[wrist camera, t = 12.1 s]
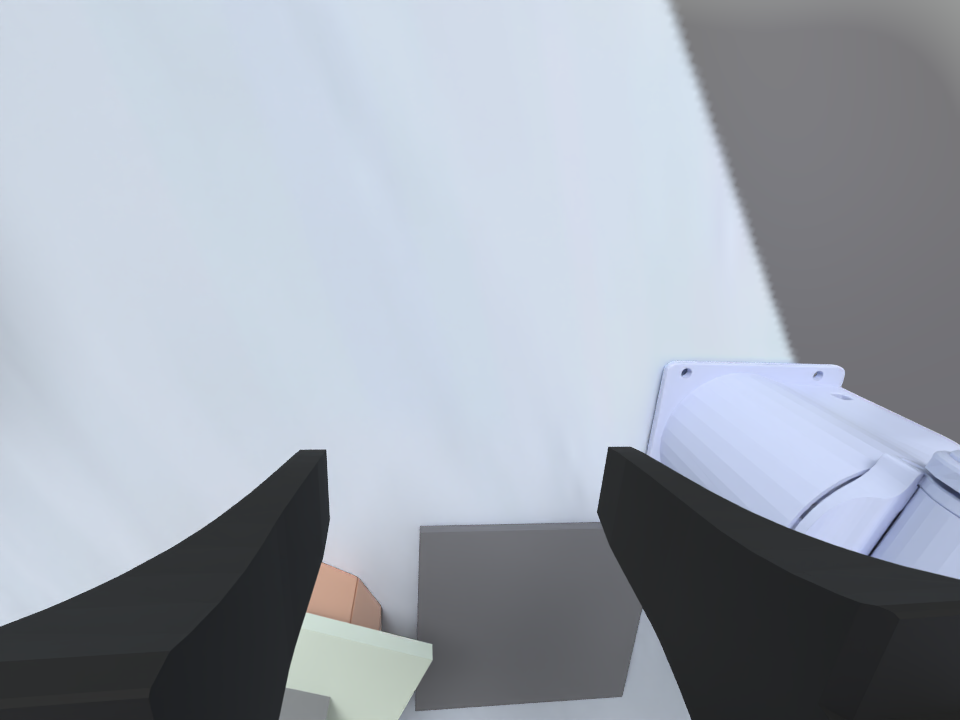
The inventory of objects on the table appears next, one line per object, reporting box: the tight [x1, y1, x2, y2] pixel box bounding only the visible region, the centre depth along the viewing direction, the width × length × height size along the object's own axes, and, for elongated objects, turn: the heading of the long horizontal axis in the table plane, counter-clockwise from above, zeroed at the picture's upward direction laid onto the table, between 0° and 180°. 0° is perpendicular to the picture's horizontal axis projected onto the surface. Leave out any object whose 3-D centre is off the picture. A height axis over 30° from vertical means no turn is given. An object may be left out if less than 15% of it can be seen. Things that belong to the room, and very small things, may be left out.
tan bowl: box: [306, 563, 382, 631], centre depth 24 cm, size 9×9×4 cm
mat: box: [415, 522, 642, 711], centre depth 28 cm, size 13×13×1 cm
